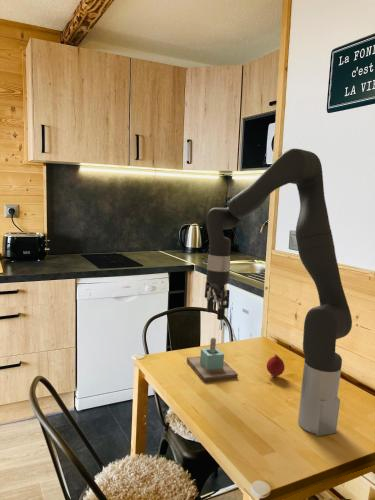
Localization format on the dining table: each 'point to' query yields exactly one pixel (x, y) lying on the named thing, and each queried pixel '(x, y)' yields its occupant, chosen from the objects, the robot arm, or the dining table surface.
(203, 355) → the bead
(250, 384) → the dining table surface
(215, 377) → the stand
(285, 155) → the robot arm
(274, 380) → the dining table surface
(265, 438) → the dining table surface
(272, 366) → the onion
